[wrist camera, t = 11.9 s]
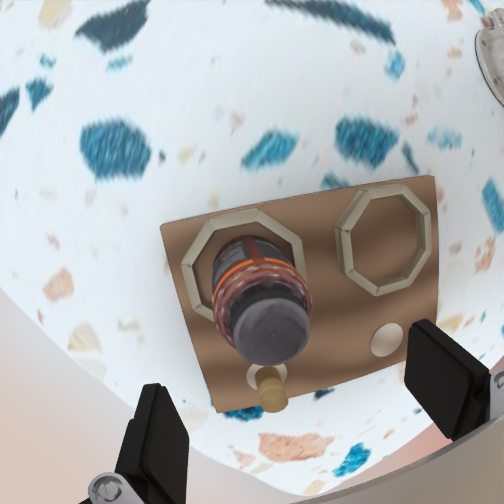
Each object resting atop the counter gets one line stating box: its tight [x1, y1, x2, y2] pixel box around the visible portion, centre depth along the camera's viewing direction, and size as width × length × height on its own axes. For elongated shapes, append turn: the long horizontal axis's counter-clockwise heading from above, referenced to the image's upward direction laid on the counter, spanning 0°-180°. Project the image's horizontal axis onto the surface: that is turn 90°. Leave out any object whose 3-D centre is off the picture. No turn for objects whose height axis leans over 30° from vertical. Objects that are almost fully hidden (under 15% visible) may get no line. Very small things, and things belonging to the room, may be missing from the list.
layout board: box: [160, 176, 439, 413], centre depth 26 cm, size 20×26×6 cm
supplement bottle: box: [212, 236, 312, 367], centre depth 20 cm, size 6×6×11 cm
